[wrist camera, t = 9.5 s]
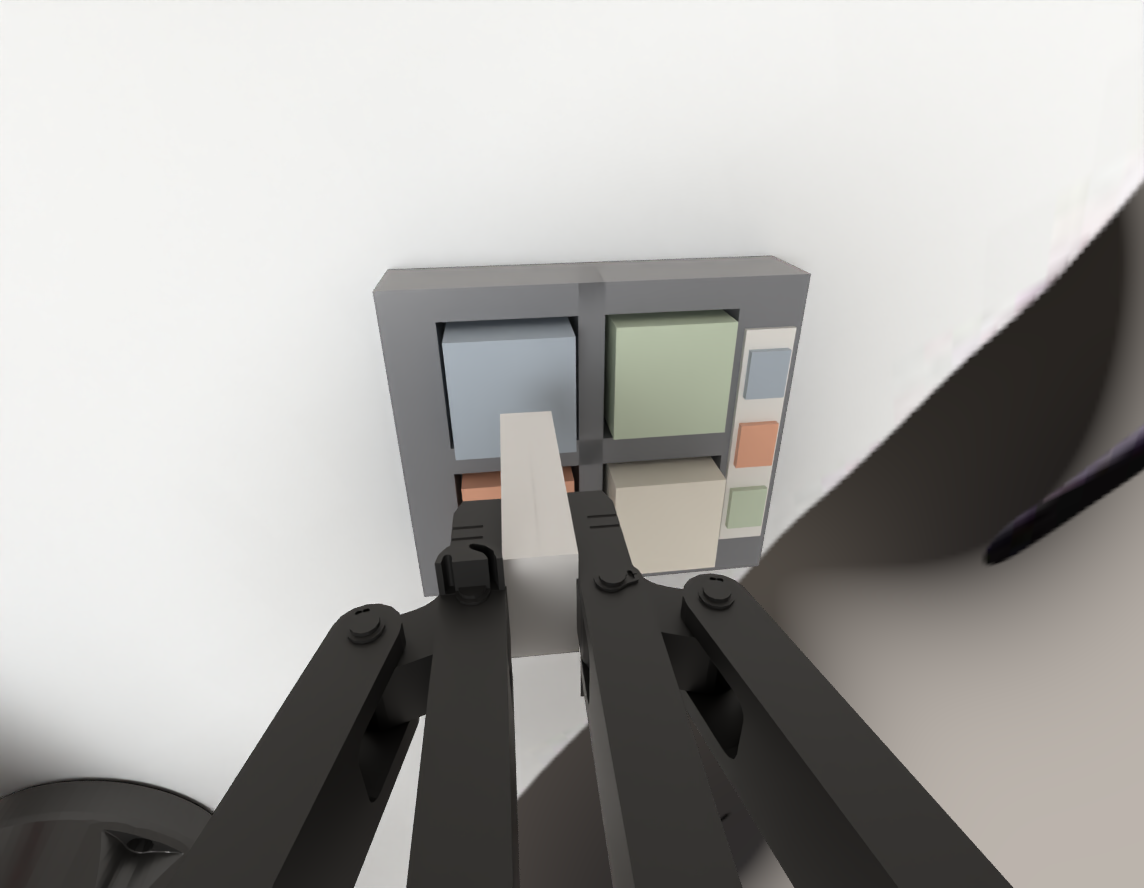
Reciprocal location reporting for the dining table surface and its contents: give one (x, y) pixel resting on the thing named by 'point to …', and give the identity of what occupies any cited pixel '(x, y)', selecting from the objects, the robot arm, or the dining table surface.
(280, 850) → the robot arm
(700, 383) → the key sage
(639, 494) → the key cream
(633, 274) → the keypad
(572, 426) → the key slate
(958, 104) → the dining table surface
